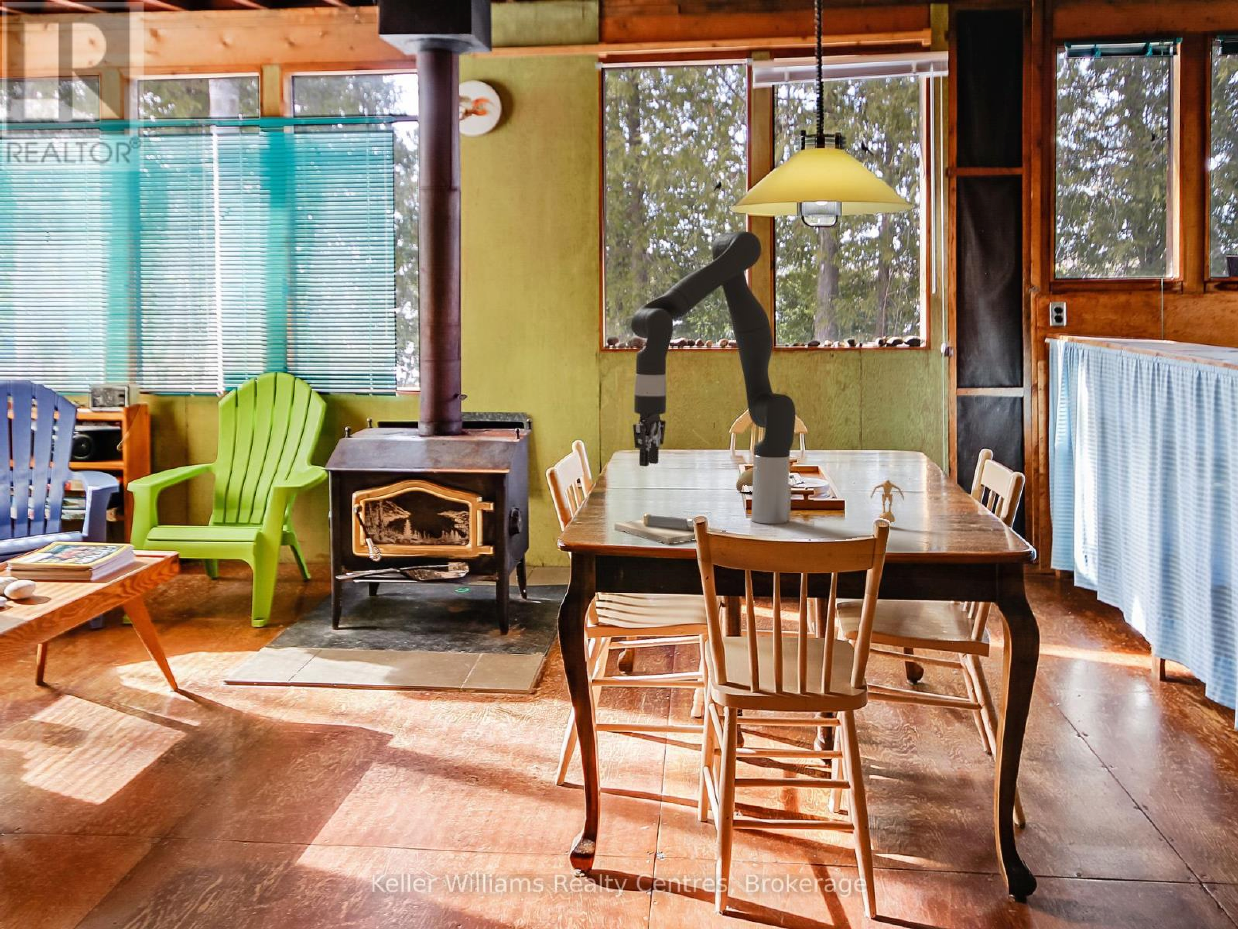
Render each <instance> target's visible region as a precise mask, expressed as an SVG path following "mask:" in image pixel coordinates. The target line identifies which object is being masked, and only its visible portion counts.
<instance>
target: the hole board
mask: <svg viewBox="0 0 1238 929" xmlns="http://www.w3.org/2000/svg"><path fill="white" fill-rule="evenodd" d="M670 517H673V518H677V516H676V517H675V516H671V515H670ZM643 522H644V519H640V520H633V521H623V522H615V523H614V530H617V531H618V532H619V531H620V532H622V531H625V532H624V533H626V532H627V534H629V533H630V534H629V535H633V534H636V535H639V536H638V537H640V536H641V538H643V537H647V538H649V539H648V540H650V539H652V540H651V541H654V540H655V541H654V542H657V541H661V542H663V543H662V544H664V543H666V544H665V545H670V544H669V543H674V542H680V541H689V540H692V539H695V534H694V530H687V529H680V528H670V527H660V526H650V525H643ZM708 529H709V530H710V531H722V532H726V533H727V530H726V529H722V528H719V527H716V526H711V525H708ZM636 535H635V536H636ZM647 538H646V539H647ZM661 542H660V543H661ZM689 542H690V541H689ZM674 544H675V543H674Z"/></svg>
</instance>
